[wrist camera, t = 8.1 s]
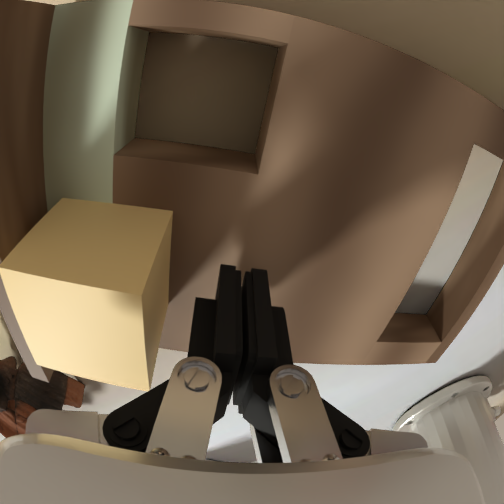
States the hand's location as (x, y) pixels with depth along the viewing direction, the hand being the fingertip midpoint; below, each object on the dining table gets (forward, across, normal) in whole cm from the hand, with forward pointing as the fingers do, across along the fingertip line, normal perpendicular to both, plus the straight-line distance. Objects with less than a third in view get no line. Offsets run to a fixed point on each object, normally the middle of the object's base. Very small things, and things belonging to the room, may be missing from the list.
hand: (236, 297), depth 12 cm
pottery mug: (+4, +16, +16) cm, 23 cm away
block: (+1, +5, 0) cm, 5 cm away
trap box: (+4, -2, -2) cm, 5 cm away
